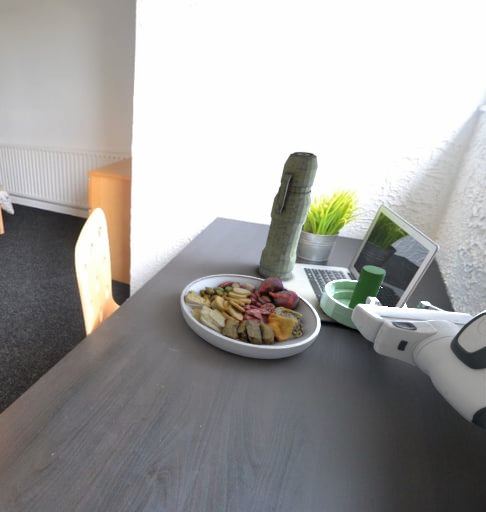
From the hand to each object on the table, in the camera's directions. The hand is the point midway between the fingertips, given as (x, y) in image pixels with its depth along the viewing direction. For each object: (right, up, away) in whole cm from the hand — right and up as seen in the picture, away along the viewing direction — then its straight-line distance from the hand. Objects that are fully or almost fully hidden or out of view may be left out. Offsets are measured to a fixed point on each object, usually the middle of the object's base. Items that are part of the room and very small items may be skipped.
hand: (395, 302), depth 76 cm
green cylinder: (+2, -4, +14) cm, 15 cm away
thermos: (-8, +4, +33) cm, 34 cm away
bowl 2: (+3, -5, +14) cm, 15 cm away
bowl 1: (-27, -7, +12) cm, 30 cm away
